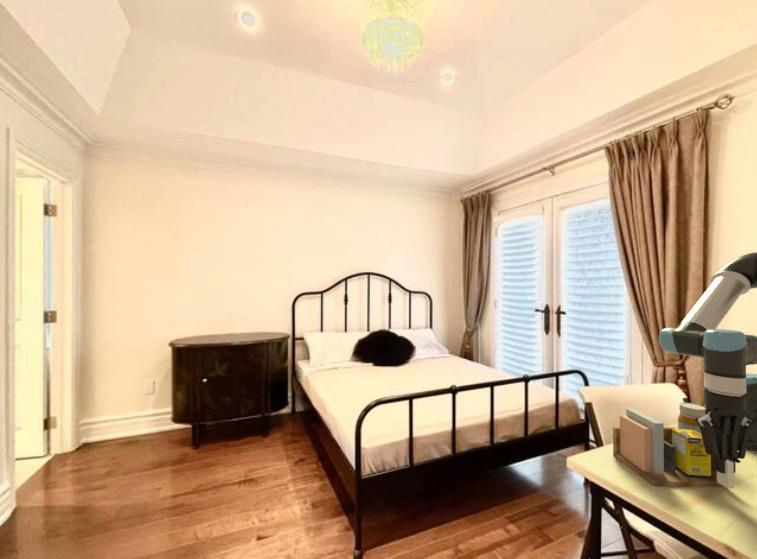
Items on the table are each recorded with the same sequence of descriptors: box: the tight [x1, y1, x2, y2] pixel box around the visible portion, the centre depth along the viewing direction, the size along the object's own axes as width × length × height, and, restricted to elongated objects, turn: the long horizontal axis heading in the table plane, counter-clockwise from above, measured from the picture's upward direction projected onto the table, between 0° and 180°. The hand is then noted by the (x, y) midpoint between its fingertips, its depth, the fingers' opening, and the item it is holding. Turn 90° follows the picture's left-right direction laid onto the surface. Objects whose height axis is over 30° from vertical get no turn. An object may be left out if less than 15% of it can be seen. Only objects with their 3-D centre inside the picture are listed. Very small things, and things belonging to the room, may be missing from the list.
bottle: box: [677, 402, 707, 434], centre depth 108 cm, size 7×7×15 cm
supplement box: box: [672, 428, 711, 479], centre depth 95 cm, size 6×6×11 cm
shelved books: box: [619, 408, 665, 474], centre depth 100 cm, size 4×11×14 cm, turn 179°
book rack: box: [612, 426, 726, 488], centre depth 98 cm, size 19×16×9 cm
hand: (725, 485), depth 85 cm, fingers closed
